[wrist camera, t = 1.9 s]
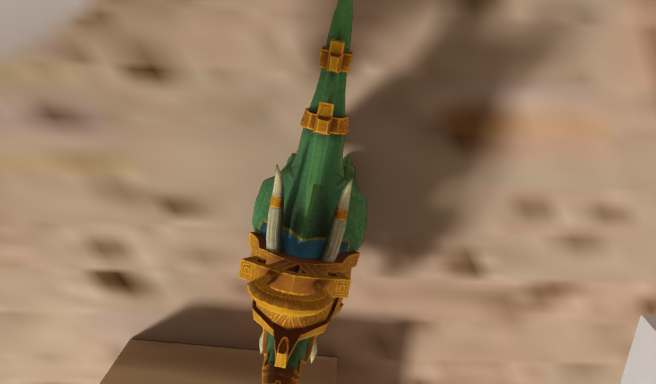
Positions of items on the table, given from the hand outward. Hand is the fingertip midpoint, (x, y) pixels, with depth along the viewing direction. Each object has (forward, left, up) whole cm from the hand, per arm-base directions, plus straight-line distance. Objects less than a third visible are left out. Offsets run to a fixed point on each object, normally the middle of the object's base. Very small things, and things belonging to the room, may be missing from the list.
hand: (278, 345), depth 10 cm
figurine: (0, 0, -8) cm, 8 cm away
